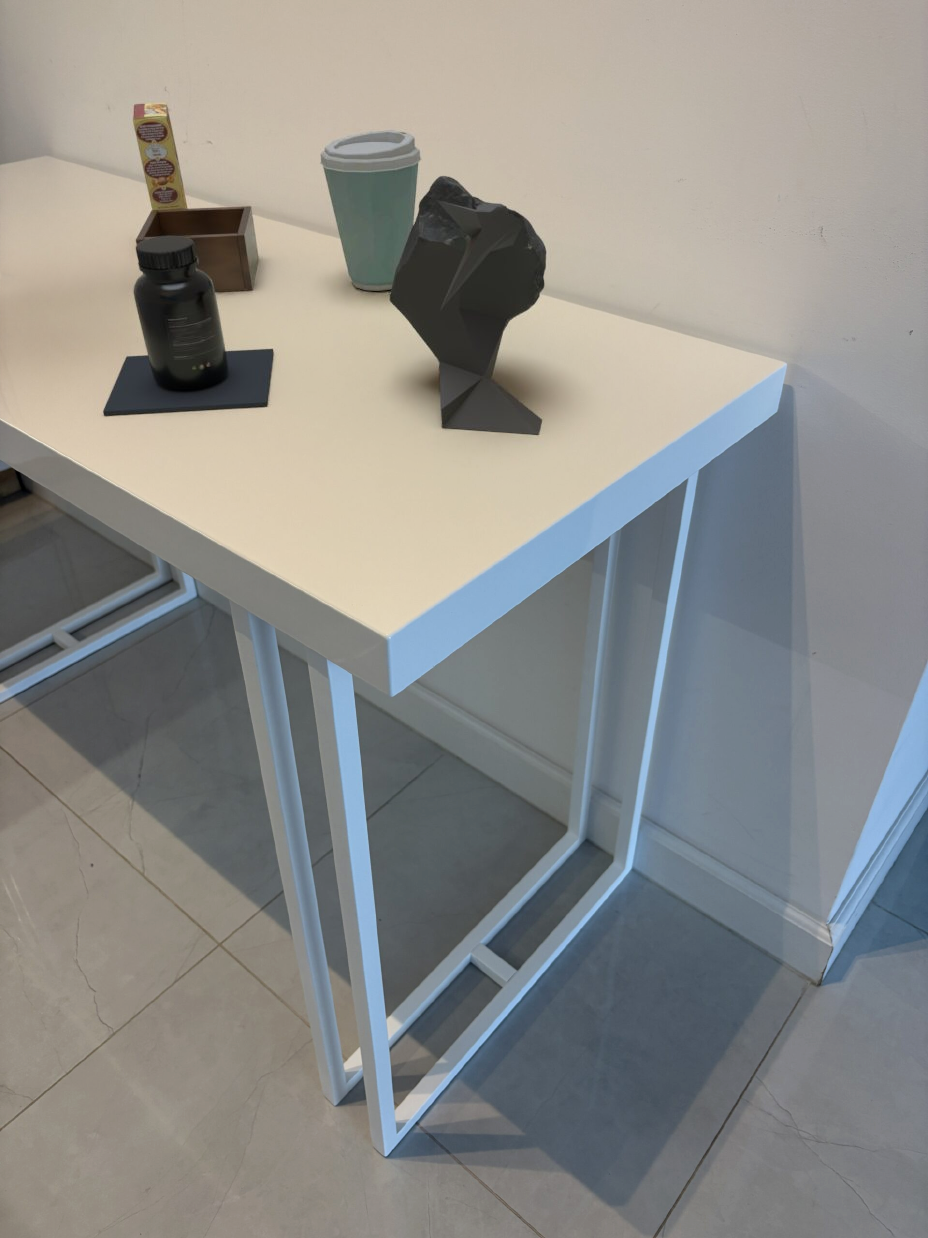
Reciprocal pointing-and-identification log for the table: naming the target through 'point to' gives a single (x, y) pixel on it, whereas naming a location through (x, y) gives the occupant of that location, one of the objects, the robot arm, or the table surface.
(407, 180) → the disposable coffee cup
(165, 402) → the mat
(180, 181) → the candy box
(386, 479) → the table surface
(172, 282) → the supplement bottle
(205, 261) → the box
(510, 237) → the dark grey faceted sculpture
